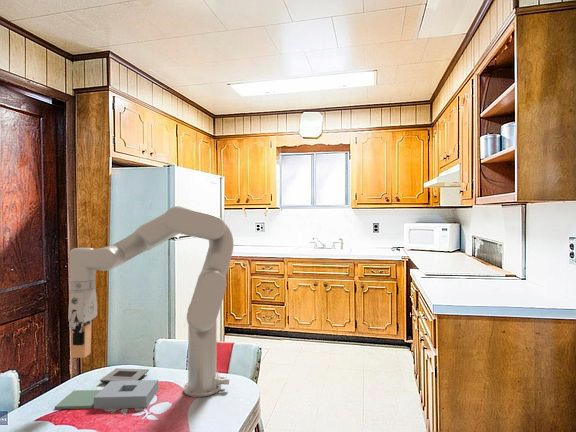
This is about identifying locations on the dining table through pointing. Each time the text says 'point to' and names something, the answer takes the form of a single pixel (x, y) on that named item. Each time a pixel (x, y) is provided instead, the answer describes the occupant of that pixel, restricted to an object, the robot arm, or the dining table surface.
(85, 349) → the plug
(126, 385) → the grey socket block
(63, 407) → the mat
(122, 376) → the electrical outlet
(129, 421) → the dining table surface
